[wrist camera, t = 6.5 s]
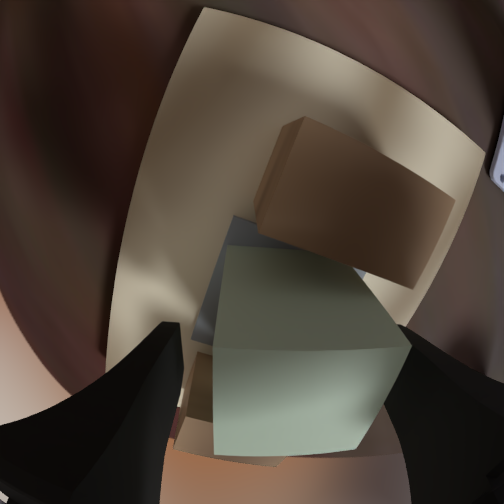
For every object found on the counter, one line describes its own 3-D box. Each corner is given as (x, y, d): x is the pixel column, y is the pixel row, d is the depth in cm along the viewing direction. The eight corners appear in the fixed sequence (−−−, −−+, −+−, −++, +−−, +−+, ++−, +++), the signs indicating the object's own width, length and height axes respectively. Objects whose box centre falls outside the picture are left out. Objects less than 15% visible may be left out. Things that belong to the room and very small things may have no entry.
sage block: (340, 252, 11) (412, 345, 6) (320, 342, 13) (355, 448, 7) (227, 245, 11) (212, 347, 6) (222, 339, 13) (214, 454, 7)
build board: (467, 150, 11) (544, 165, 6) (318, 416, 18) (333, 481, 12) (208, 21, 9) (186, -47, 4) (113, 365, 16) (82, 432, 10)
